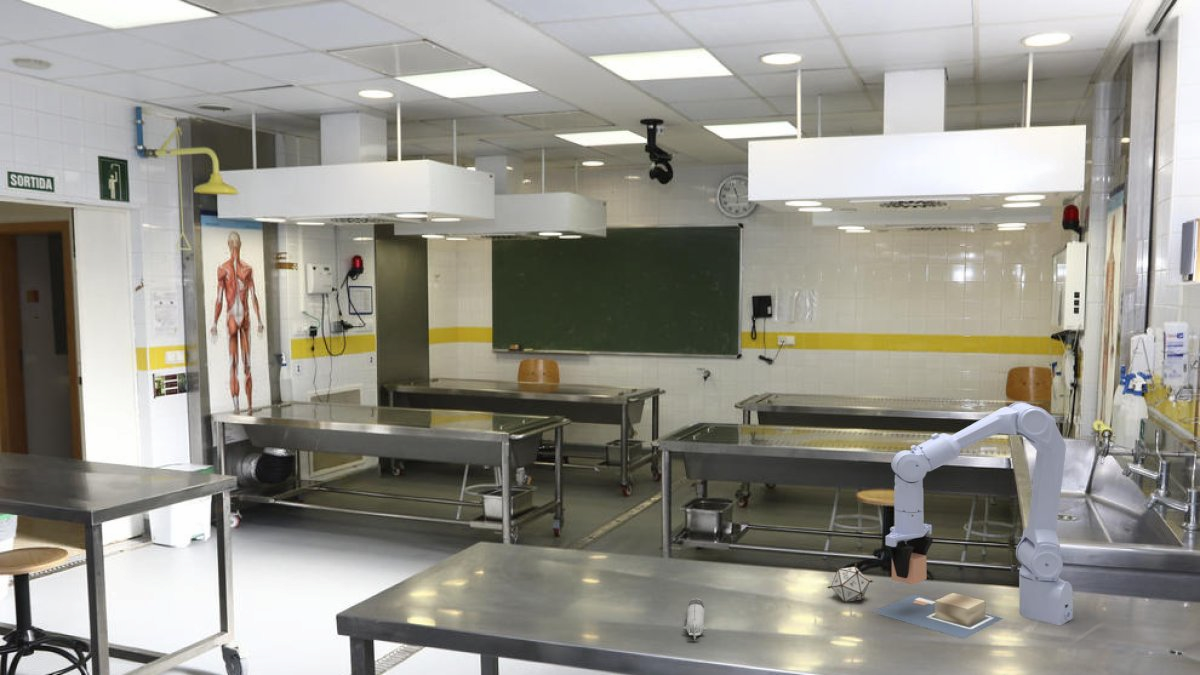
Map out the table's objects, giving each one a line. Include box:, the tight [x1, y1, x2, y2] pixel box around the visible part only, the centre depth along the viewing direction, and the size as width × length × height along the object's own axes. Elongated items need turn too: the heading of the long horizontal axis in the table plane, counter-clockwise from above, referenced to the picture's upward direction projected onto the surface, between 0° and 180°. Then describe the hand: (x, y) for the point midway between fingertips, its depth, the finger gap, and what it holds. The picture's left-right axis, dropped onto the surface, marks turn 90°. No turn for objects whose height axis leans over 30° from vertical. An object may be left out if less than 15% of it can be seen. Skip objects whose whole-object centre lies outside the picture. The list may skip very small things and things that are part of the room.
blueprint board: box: [871, 594, 1004, 639], centre depth 186 cm, size 20×16×1 cm
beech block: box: [934, 592, 986, 626], centre depth 184 cm, size 7×7×4 cm
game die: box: [826, 563, 874, 603], centre depth 197 cm, size 9×8×10 cm
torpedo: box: [682, 598, 708, 641], centre depth 184 cm, size 18×5×6 cm, turn 173°
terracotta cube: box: [891, 553, 928, 585], centre depth 188 cm, size 5×5×5 cm
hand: (909, 574), depth 188 cm, fingers closed on terracotta cube, 5 cm apart
